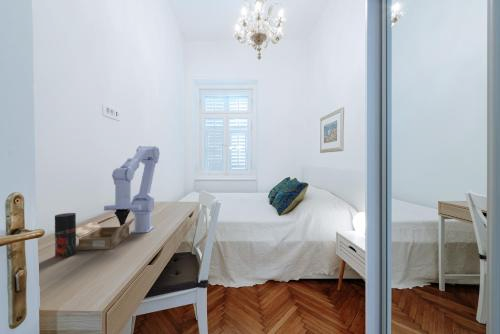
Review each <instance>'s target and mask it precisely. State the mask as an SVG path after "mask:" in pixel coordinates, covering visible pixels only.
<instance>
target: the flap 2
mask: <svg viewBox="0 0 500 334" xmlns="http://www.w3.org/2000/svg"><path fill="white" fill-rule="evenodd" d="M133 222H134V218H132V219H131V220H128V221H127V222H125V224H123V225H122V226H117V227H118V228H117V230H116V231H115V232H114V234H113V235H112V236H114V235H116V234H117V233H119V232H120V231H122V230H123V229H125V228H127V227H128V226H129V227H130V226H131V224H132V223H133Z"/></svg>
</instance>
